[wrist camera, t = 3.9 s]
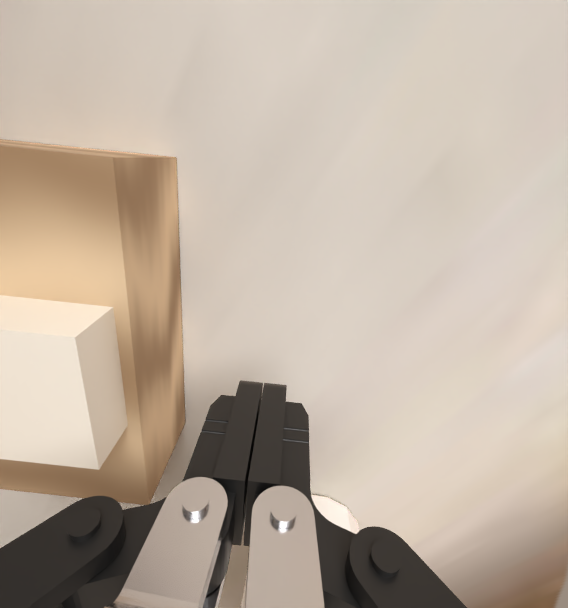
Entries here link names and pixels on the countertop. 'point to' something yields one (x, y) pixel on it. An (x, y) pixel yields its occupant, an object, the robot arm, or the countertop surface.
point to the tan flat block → (102, 293)
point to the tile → (59, 382)
